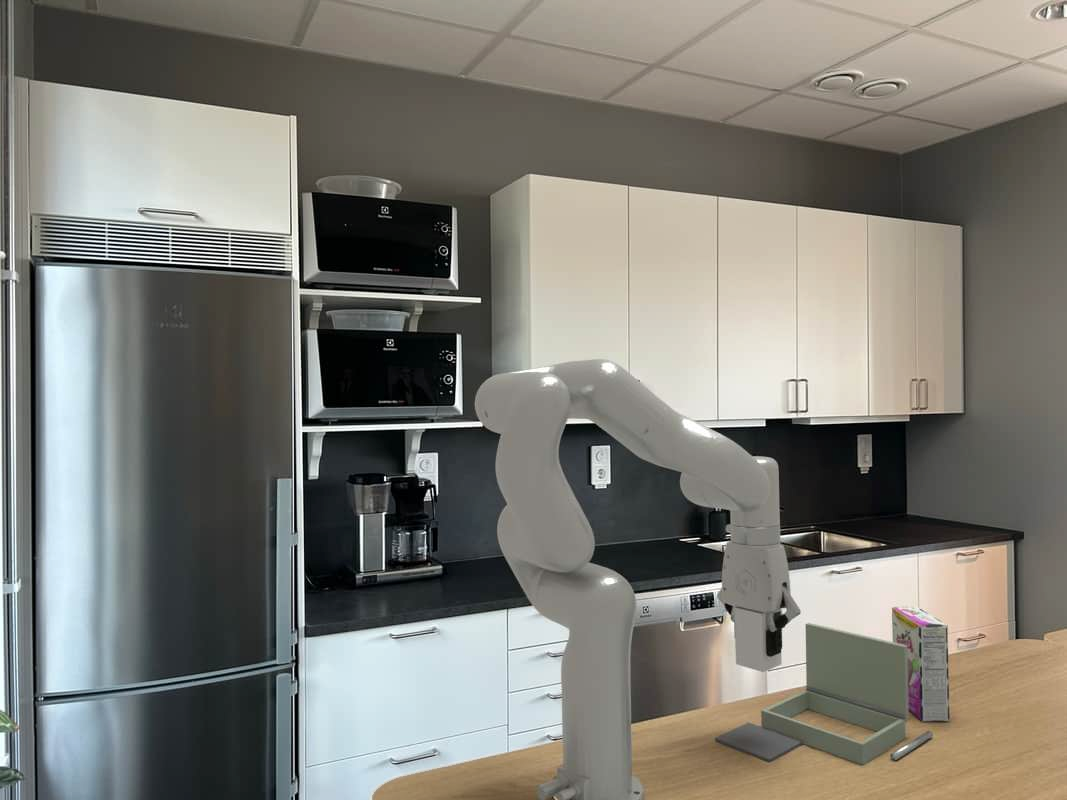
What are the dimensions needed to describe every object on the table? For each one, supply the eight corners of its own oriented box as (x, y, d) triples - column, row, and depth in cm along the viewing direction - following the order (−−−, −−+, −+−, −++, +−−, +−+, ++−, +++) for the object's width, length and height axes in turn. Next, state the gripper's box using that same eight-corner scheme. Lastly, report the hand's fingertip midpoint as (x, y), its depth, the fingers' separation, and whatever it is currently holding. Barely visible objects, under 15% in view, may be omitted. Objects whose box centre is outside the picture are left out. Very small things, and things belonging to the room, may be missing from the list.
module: (763, 672, 123) (761, 605, 123) (735, 664, 126) (734, 599, 126) (781, 664, 126) (780, 599, 126) (754, 656, 130) (753, 594, 130)
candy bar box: (891, 697, 143) (890, 606, 143) (919, 697, 143) (918, 605, 143) (920, 723, 132) (919, 624, 132) (951, 722, 132) (949, 623, 132)
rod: (896, 761, 119) (896, 754, 119) (890, 759, 119) (890, 752, 119) (932, 738, 126) (932, 731, 126) (926, 736, 127) (926, 729, 127)
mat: (769, 762, 119) (769, 759, 119) (714, 740, 127) (714, 738, 127) (802, 744, 125) (802, 741, 125) (748, 724, 133) (748, 722, 133)
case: (862, 764, 118) (861, 666, 118) (761, 728, 131) (760, 640, 131) (909, 735, 127) (908, 645, 127) (810, 704, 141) (809, 622, 141)
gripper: (697, 532, 130) (699, 643, 130) (789, 545, 117) (792, 669, 117) (725, 526, 135) (728, 633, 135) (817, 538, 122) (820, 657, 122)
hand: (758, 649), depth 126 cm, fingers closed on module, 5 cm apart
